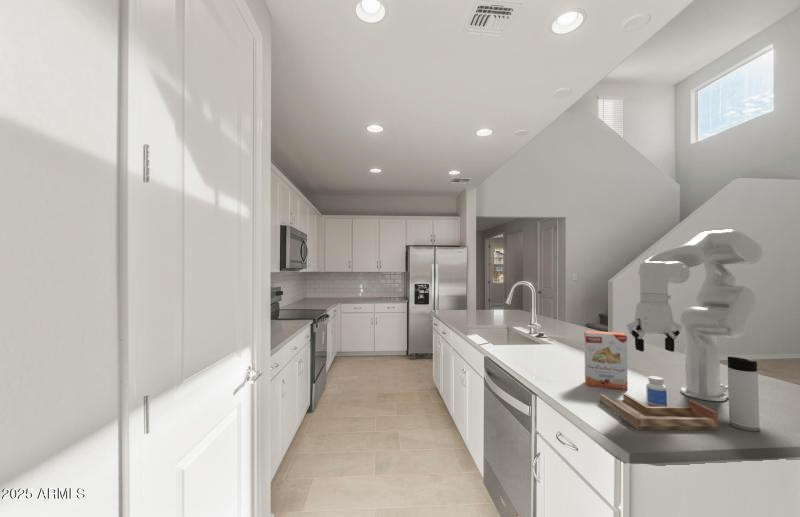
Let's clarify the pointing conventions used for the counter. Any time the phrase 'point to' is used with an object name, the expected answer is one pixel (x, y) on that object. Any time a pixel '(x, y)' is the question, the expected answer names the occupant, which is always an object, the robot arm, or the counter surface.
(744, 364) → the travel mug
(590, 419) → the counter surface
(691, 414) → the channel track
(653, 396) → the pill bottle
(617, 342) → the cracker box
